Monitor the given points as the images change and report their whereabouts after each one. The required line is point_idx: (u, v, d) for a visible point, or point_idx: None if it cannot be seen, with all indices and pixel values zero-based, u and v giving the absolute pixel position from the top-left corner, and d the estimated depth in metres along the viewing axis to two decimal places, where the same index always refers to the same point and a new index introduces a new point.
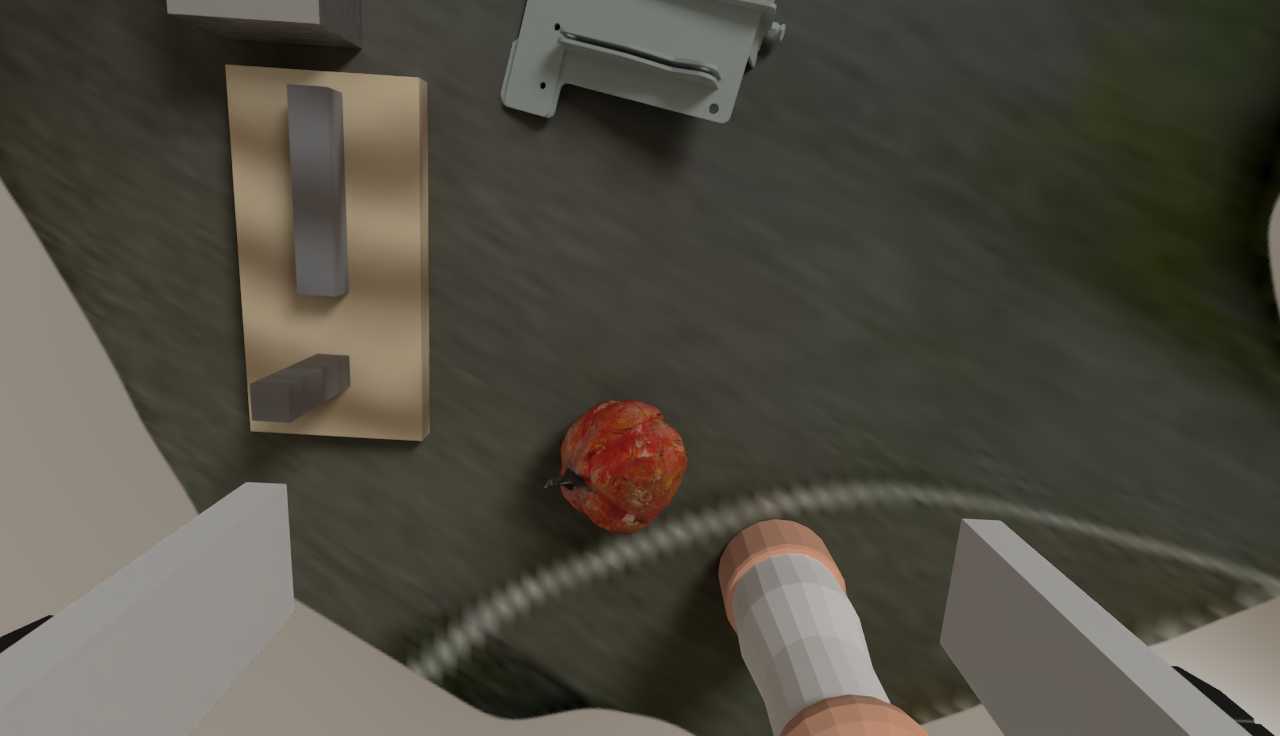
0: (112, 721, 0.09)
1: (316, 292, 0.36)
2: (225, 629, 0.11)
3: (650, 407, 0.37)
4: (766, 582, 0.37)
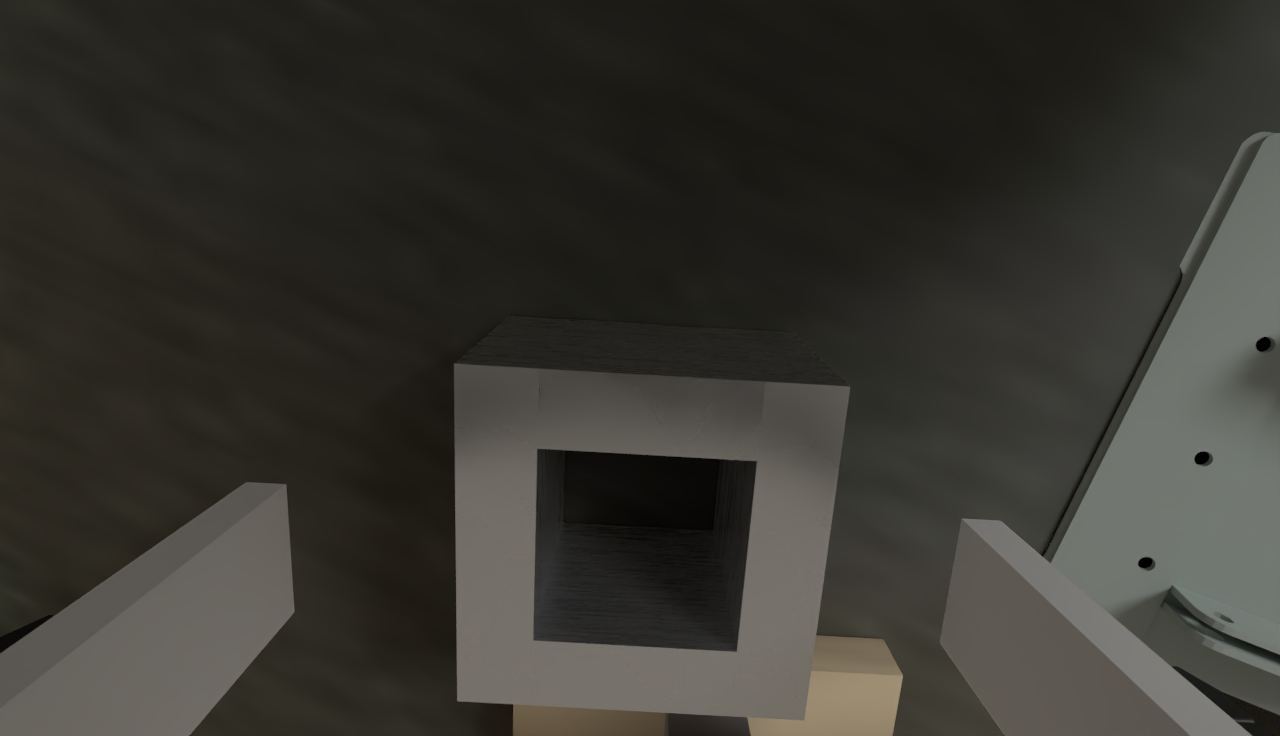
0: (112, 721, 0.09)
1: None
2: (225, 630, 0.11)
3: None
4: None
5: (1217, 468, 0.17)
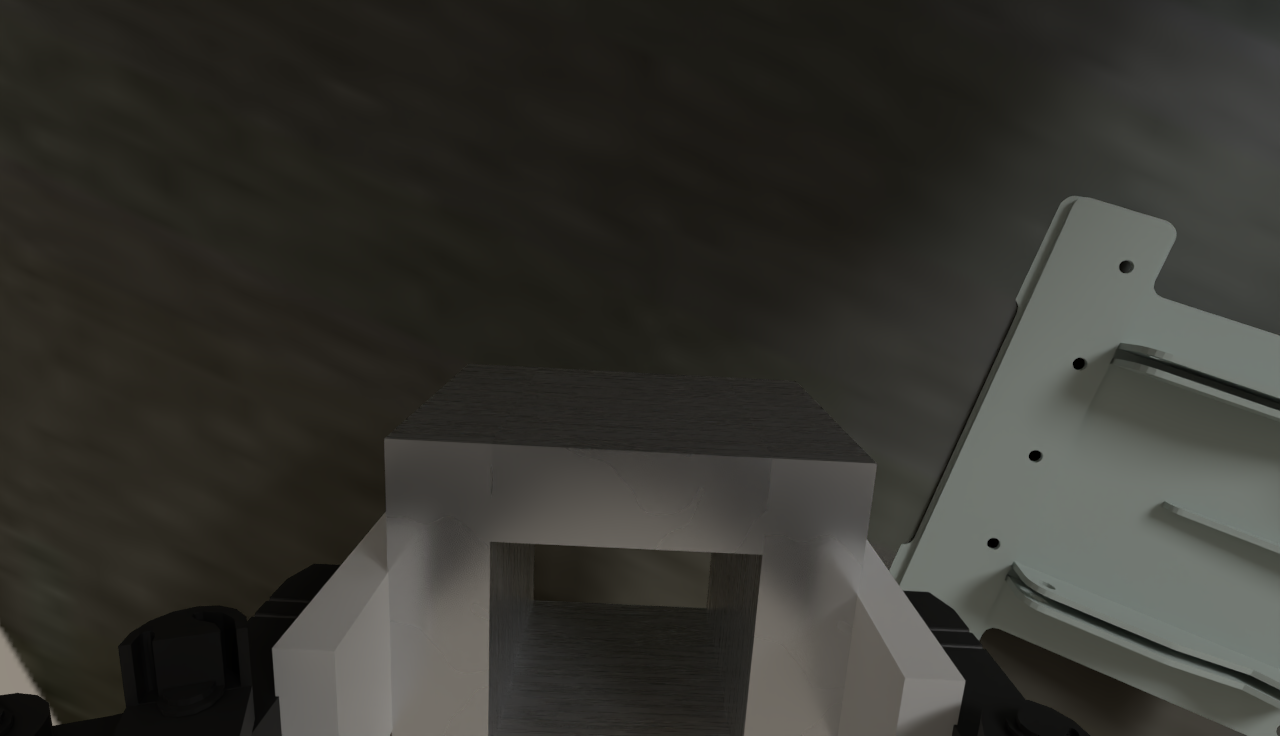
0: None
1: None
2: None
3: None
4: None
5: (1046, 464, 0.21)
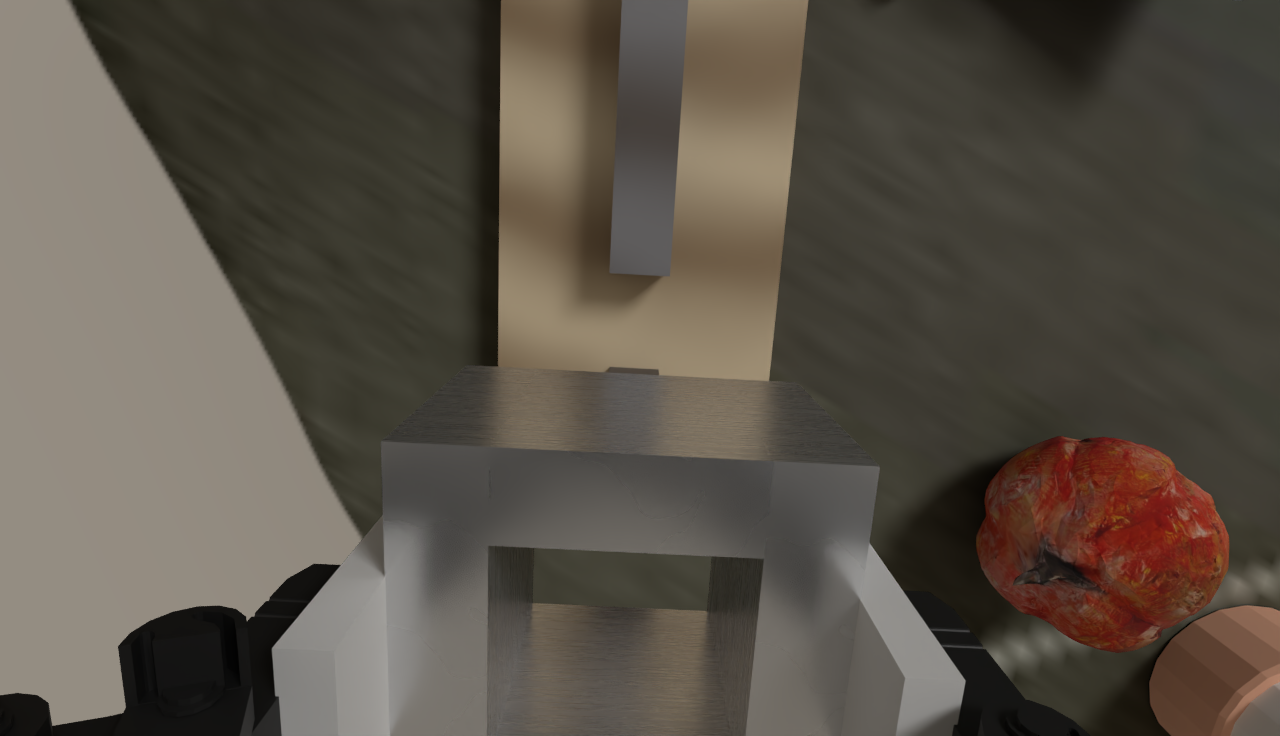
0: None
1: (641, 269, 0.22)
2: None
3: (1154, 450, 0.24)
4: None
5: None
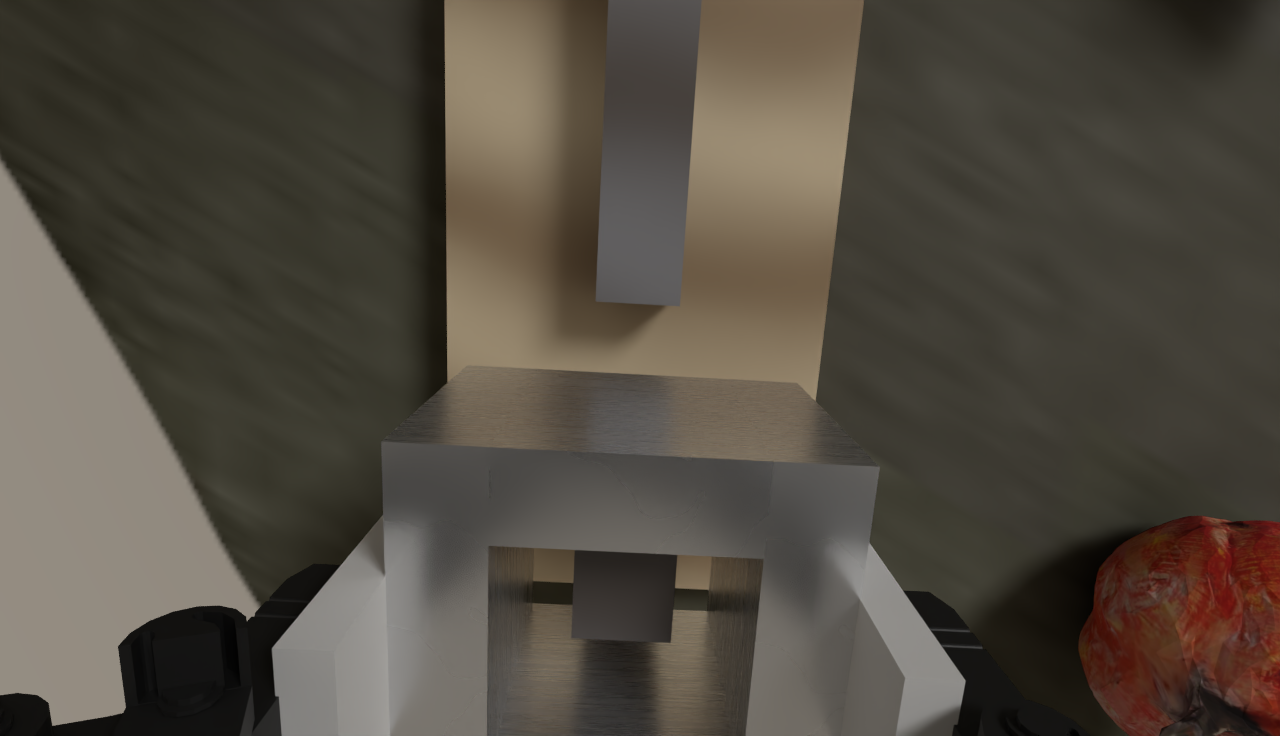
0: None
1: (639, 297, 0.16)
2: None
3: None
4: None
5: None
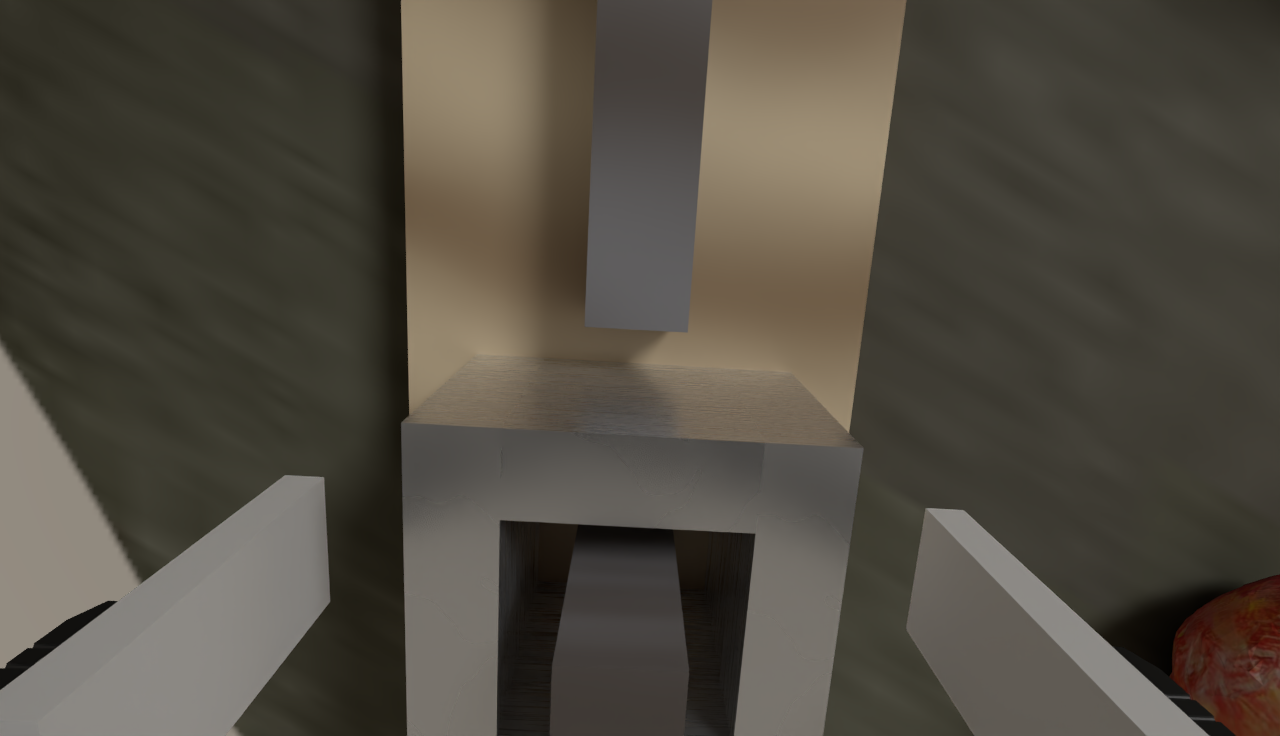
0: (175, 700, 0.09)
1: (638, 321, 0.13)
2: (271, 617, 0.12)
3: None
4: None
5: None
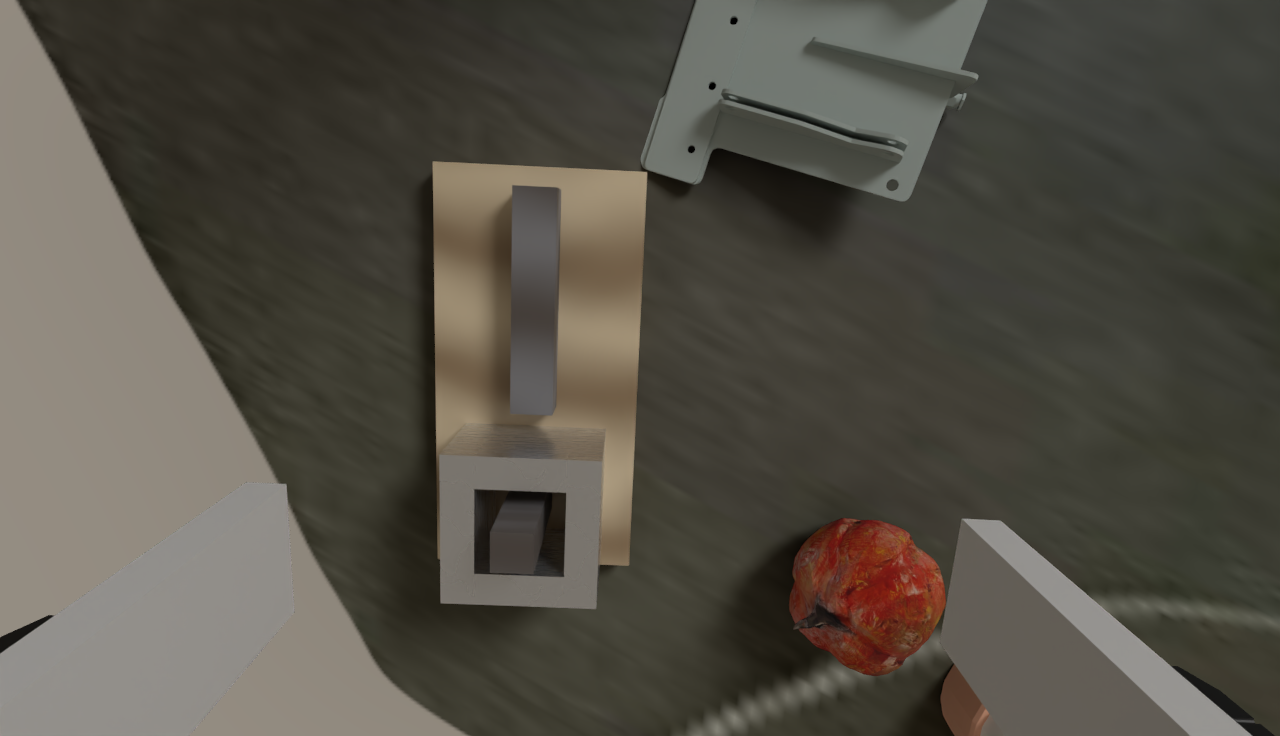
0: (112, 721, 0.09)
1: (532, 411, 0.32)
2: (225, 629, 0.11)
3: (899, 530, 0.33)
4: None
5: (740, 24, 0.31)
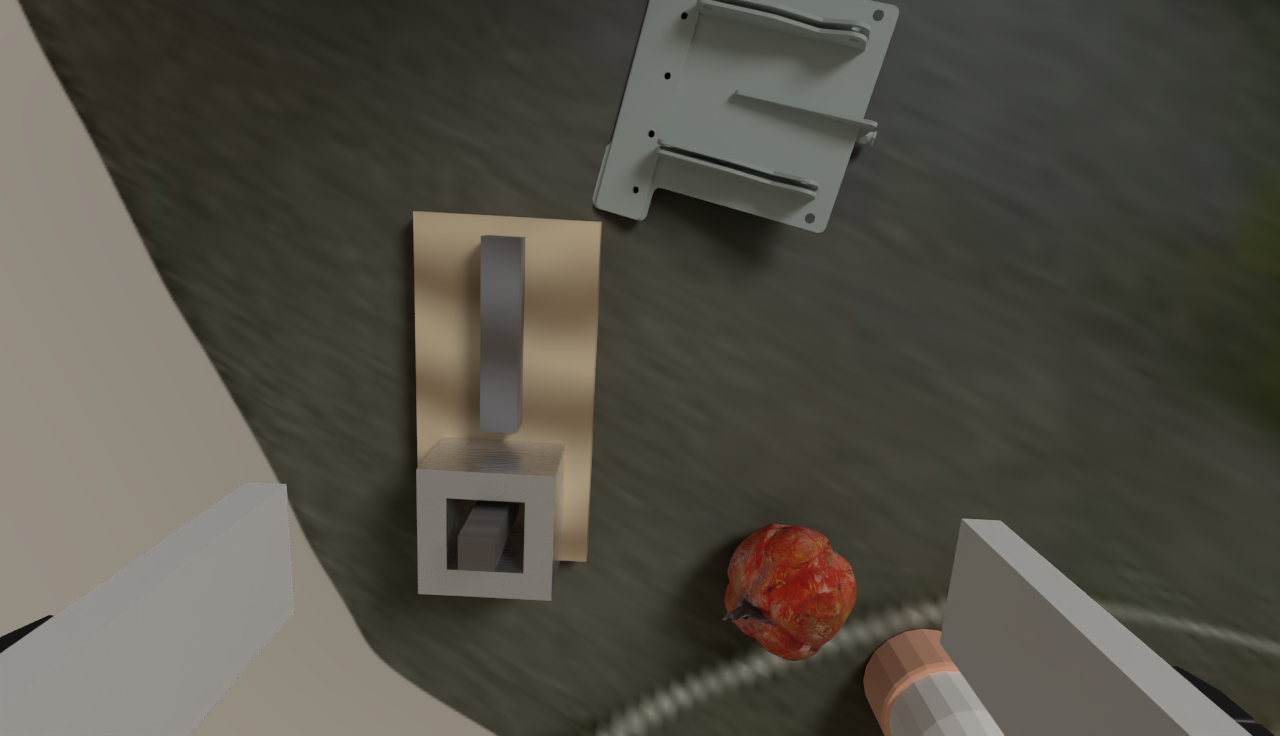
0: (113, 721, 0.09)
1: (498, 429, 0.37)
2: (225, 629, 0.11)
3: (819, 535, 0.38)
4: (934, 706, 0.38)
5: (673, 79, 0.35)
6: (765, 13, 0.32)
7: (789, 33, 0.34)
